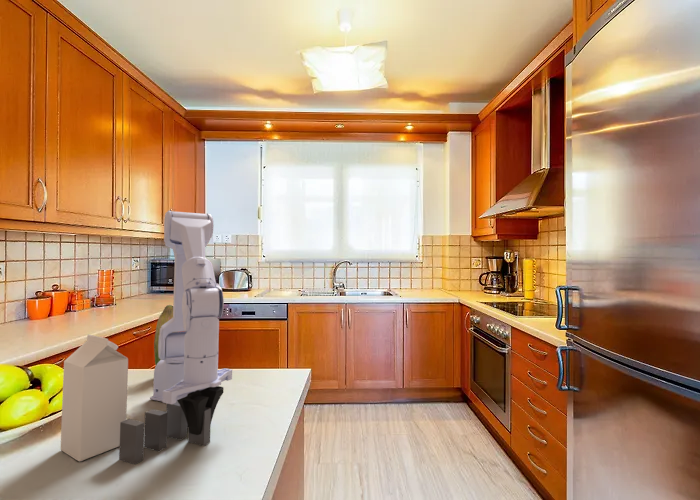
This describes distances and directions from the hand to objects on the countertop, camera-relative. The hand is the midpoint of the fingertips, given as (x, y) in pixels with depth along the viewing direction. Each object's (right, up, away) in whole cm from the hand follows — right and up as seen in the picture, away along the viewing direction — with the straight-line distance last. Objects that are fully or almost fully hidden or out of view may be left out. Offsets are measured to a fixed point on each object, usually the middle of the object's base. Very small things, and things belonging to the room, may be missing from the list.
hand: (199, 431), depth 67 cm
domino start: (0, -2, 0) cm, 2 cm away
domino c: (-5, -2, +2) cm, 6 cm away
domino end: (-9, -2, -6) cm, 11 cm away
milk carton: (-17, -2, -3) cm, 18 cm away
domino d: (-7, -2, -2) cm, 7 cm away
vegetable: (-24, -3, +37) cm, 44 cm away
